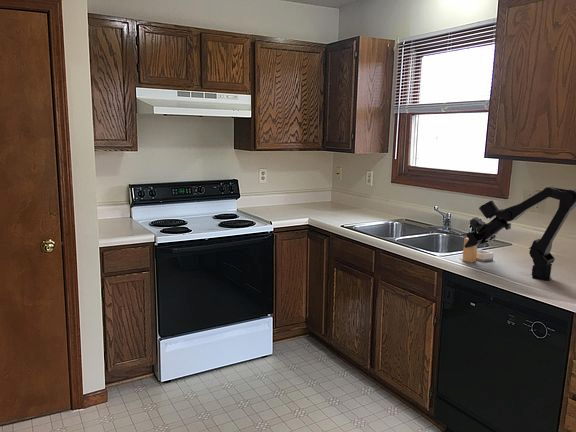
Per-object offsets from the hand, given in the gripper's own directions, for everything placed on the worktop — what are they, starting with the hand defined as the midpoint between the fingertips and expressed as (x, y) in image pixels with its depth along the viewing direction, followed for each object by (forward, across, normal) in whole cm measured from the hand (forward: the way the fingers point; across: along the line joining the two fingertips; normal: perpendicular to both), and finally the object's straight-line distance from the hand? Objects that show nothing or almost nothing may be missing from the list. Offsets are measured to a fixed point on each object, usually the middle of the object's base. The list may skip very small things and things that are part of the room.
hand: (467, 246), depth 223 cm
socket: (+2, -8, +7) cm, 11 cm away
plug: (+4, 0, +6) cm, 7 cm away
